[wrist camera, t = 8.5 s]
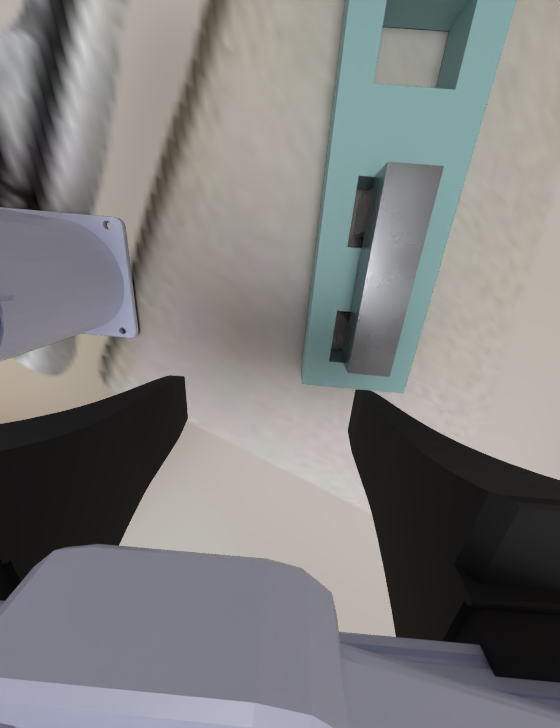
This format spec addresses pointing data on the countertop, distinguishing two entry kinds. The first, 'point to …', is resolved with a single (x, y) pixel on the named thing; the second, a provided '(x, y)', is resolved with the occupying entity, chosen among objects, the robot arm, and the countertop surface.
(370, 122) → the teal slotted board
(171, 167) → the countertop surface
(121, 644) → the robot arm
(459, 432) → the countertop surface
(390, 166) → the grey arch block
